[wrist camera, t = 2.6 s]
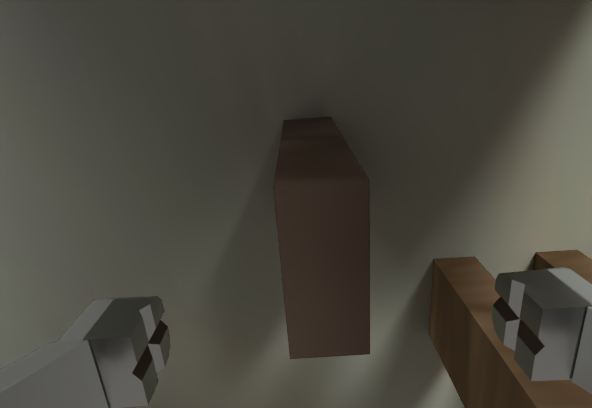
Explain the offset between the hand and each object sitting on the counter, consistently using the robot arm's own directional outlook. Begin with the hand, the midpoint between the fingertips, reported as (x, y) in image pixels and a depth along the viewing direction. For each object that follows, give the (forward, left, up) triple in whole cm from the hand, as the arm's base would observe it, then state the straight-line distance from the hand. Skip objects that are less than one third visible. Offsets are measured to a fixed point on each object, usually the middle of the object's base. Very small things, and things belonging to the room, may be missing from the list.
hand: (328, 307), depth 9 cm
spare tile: (-1, 0, -11) cm, 11 cm away
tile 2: (+7, +8, -11) cm, 15 cm away
